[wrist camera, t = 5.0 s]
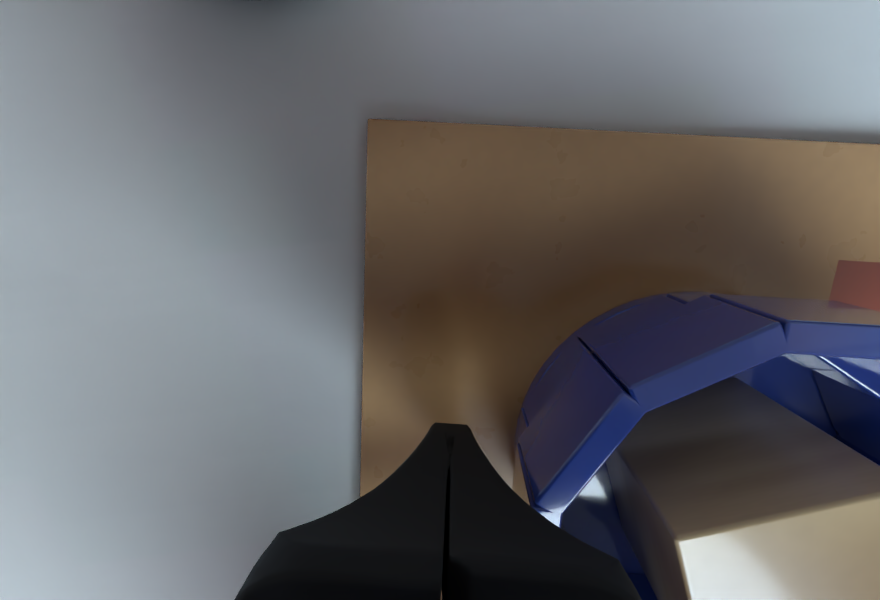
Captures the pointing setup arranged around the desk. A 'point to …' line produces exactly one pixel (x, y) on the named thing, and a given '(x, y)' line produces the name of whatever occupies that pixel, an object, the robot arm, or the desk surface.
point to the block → (746, 502)
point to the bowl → (684, 391)
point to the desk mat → (576, 254)
